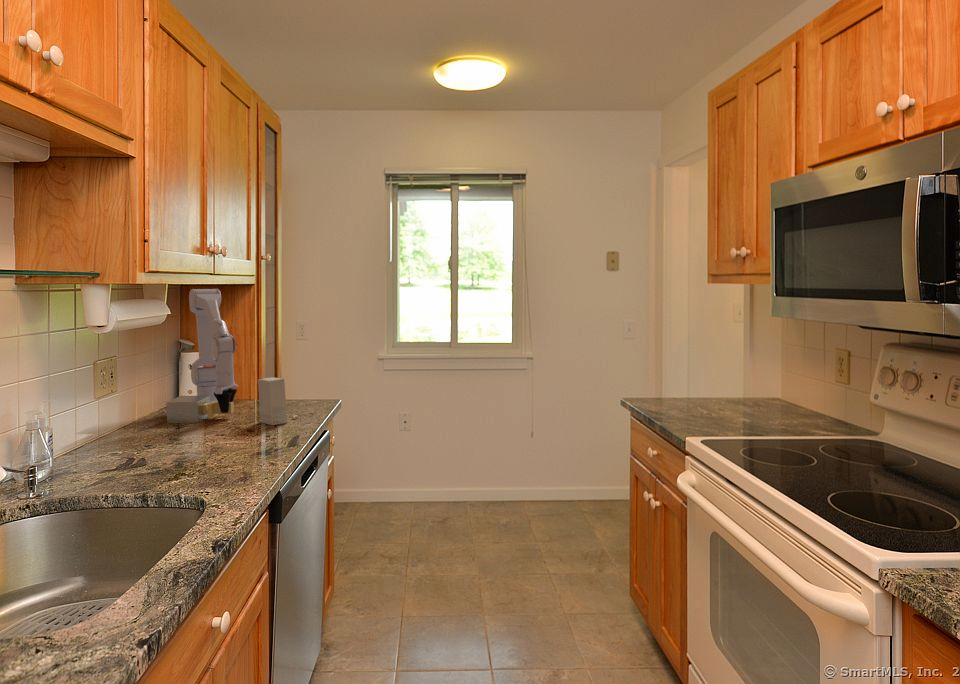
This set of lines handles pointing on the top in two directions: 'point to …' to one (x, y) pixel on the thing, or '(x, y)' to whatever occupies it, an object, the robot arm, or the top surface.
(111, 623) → the top surface
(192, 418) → the block
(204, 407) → the end cover
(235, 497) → the top surface
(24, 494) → the top surface
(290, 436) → the top surface
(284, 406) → the skincare box
